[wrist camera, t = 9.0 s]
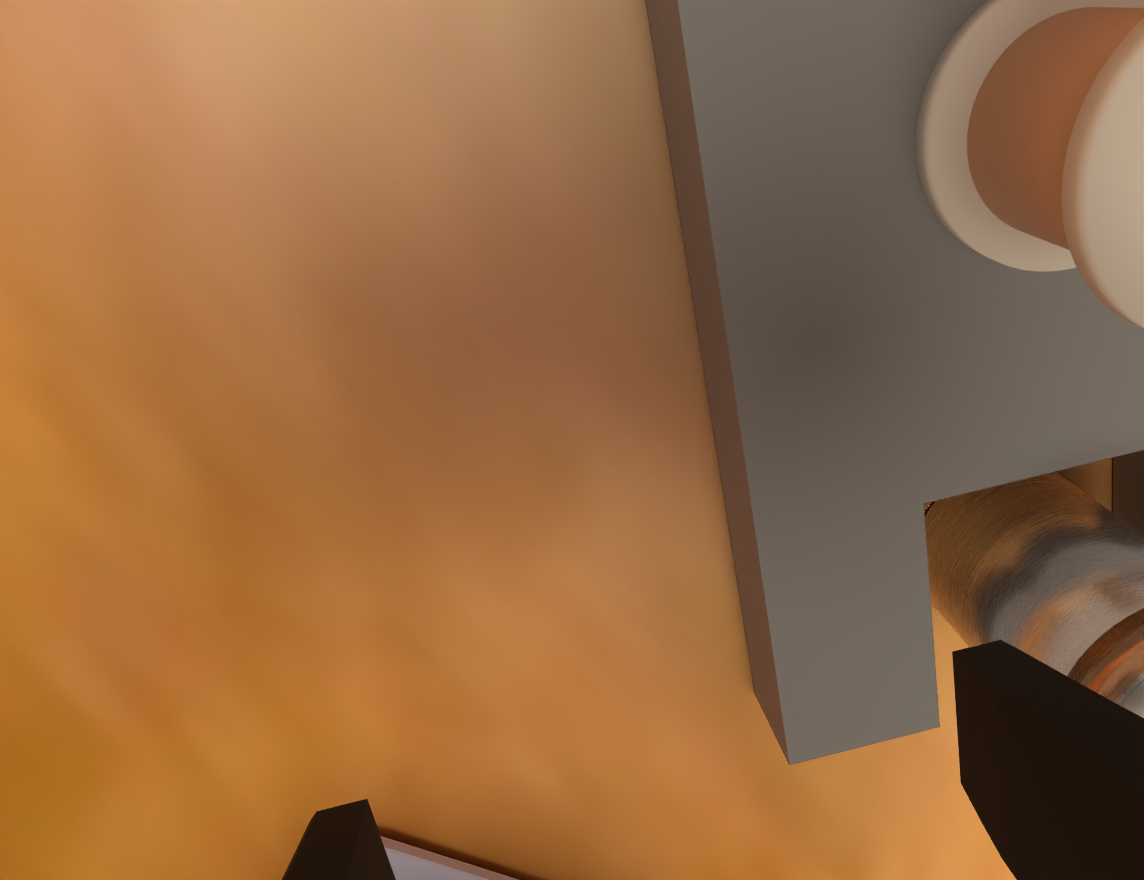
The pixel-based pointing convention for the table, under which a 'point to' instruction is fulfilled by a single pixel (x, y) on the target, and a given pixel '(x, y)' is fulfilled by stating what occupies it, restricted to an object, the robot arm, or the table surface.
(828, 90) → the notched board
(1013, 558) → the peg
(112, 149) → the table surface
